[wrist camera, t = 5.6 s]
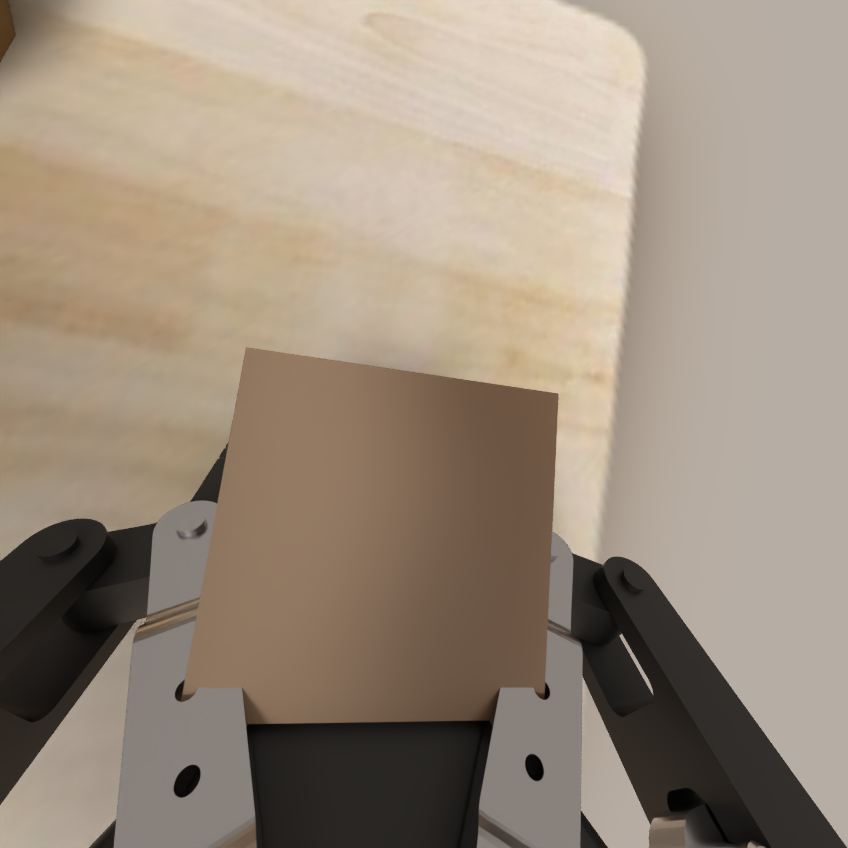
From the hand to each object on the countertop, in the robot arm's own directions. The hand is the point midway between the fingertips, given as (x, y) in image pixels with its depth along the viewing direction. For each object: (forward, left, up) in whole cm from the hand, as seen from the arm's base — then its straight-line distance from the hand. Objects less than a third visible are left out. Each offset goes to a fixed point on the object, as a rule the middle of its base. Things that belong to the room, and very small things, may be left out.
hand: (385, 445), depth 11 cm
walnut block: (+1, -1, -5) cm, 5 cm away
